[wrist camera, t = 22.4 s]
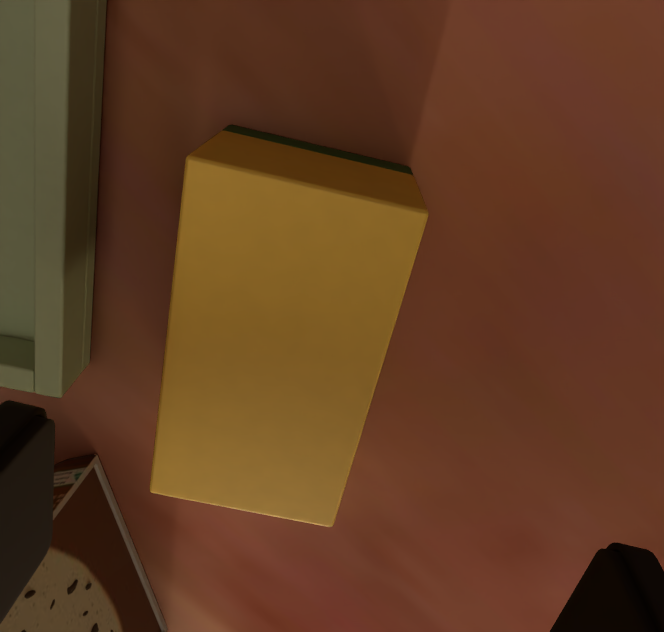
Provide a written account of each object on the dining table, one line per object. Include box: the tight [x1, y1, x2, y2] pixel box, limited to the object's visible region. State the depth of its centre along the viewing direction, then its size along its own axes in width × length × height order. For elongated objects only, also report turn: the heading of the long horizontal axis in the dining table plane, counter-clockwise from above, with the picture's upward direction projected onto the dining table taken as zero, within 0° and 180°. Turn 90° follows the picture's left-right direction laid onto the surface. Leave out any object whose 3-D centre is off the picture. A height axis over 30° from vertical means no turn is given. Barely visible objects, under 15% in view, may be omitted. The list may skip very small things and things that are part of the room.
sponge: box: [150, 125, 429, 527], centre depth 15 cm, size 5×9×4 cm, turn 167°
